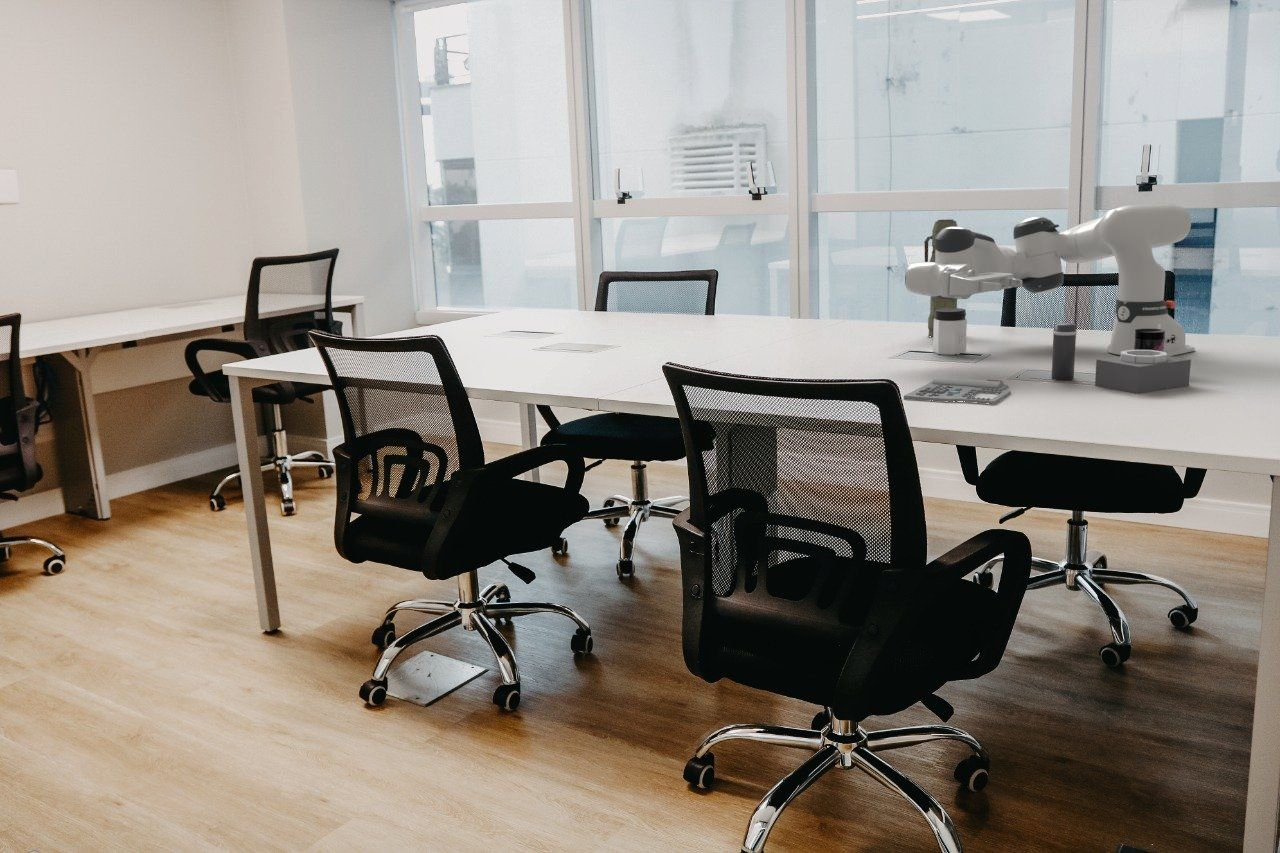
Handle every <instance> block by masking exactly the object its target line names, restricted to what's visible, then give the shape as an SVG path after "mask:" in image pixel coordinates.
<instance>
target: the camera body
mask: <svg viewBox="0 0 1280 853" xmlns="http://www.w3.org/2000/svg"><path fill="white" fill-rule="evenodd" d="M1191 362H1192V360H1191V358H1190V359H1189V358H1184V357H1176V356H1167V354H1166V352H1162V351H1155V350H1127V351H1121V355H1119V356H1113V357H1106V358H1105V357H1104V358H1099V359H1098V358H1097V359H1096V364H1095V365H1096V366H1095V379H1094V380H1095V381H1094V386H1097V385H1098V386H1097V387H1102V386H1103V387H1102V388H1107V389H1113V390H1116V391H1117V390H1118V391H1123V392H1127V393H1128V392H1129V393H1133V394H1142V393H1150V392H1156V391H1162V390H1169V389H1175V388H1181V387H1188V386H1190V377H1191V376H1190V375H1191Z"/></svg>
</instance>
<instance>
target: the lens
mask: <svg viewBox="0 0 1280 853" xmlns="http://www.w3.org/2000/svg"><path fill="white" fill-rule="evenodd" d="M1077 334H1078V332H1077V324H1076V323H1071V322H1060V323H1059V322H1058V323H1054V324H1053V330H1052V336H1053V338H1052V355H1051V356H1052V359H1051V360H1052V361H1051V378H1052V379H1051V380H1053V379H1056V380H1055V381H1059V380H1069V381H1073V380H1074V379H1075V362H1076V360H1075V359H1076V343H1077ZM1072 379H1073V380H1072Z"/></svg>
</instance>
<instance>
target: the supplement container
mask: <svg viewBox="0 0 1280 853" xmlns="http://www.w3.org/2000/svg"><path fill="white" fill-rule="evenodd" d="M1134 337H1135V338H1134V350H1155V351H1162V352H1164V343H1165V330H1161V329H1136V330H1135V336H1134Z"/></svg>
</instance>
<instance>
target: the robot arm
mask: <svg viewBox="0 0 1280 853" xmlns="http://www.w3.org/2000/svg"><path fill="white" fill-rule="evenodd" d="M1059 227H1060V225H1059V224H1055V223H1054V222H1053V221H1052V220H1051V219H1048V218H1047V217H1044V216H1042V217H1040V216H1030V217H1027V218H1025V219H1023V220H1021V221H1020V222H1018V223H1017V224H1015V226H1014V227H1013V240H1014V243H1015V250H1014V249H1012V248H1008V247H1004V246H998V245H997V243H996V241H995V239H994V238H993V237H991V236H989V235H986V234H983V233H980V232H975V231H972V230H970V229H968V228H965V227H963V226H958V227H947V228H944V229H942V230H941V231H940V232H939V233H938V234H937V235H936V237H935V249H936V251H935V262H930V261H928V262H925V261H921V262H913V263H910V264H909V265H908V266H907V267H906V271H905V276H904V285H905V288H906V289H907V291H908V292H910V293H913V294H917V295H921V296H925V297H927V296H929V297H931V296H934V297H936V298H939V299H957V300H968V299H969V298H971V296H972V295H975V294H981V293H988V292H999V291H1002V290H1006V289H1011V288H1024V289H1025V290H1026V291H1027V292H1029V293H1031V294H1039V295H1047V294H1050V293H1054V291H1056V290H1057V289H1059V288H1061V286H1062V285H1063V284H1064V279H1065V278H1064V272H1063V269H1062V268H1063V266H1062V261H1064V262H1066V263H1069V264H1084V263H1085V264H1086V263H1091V262H1095V261H1100V260H1104V259H1108V258H1110V257H1114V258H1115V261H1116V264H1117V270H1118V271H1117V272H1118V290H1117V291H1118V292H1117V293H1118V294H1117V299H1116V301H1115V306H1114V307H1115V310H1114V311H1115V313H1116V317H1115V319H1114V322H1113V327H1112V333H1111V338H1110V339H1111V340H1110V344H1108V345H1107V351H1108V353H1109V354H1112V355H1113V354H1114V355H1119V356H1121V351H1127V350H1134V338H1135V337H1134V336H1135V330H1136V329H1161V330H1165V343H1164V352H1166V354H1167V356H1171V357H1174V356H1178V355H1181V354H1187V353H1191V352H1195V351H1196V348H1195V346H1193V345H1189V344H1186V331H1185V328H1184V327H1183V326H1182V325H1181V324H1180V323H1178V322H1177V320H1175V319H1174V318H1173V317H1172V316H1171V315H1169V310H1168V309H1172V310H1173V309H1175V307H1176V301H1174V300H1165V299H1164V298H1165V284H1166V270H1165V269H1164V267H1163V266H1162V265H1161V264H1159V263H1158V262H1157V261H1156V259H1155V257H1154V255H1153V249H1156V248H1160V247H1165V246H1169V245H1173V244H1175V243H1178V242H1181V241H1183V240H1184V239H1186V238H1187V236H1188V235H1189V233H1190V231H1191V227H1192V218H1191V215H1190V213H1189V211H1188V210H1187V209H1186V208H1185V207H1183V206H1180V205H1177V204H1171V203H1154V204H1153V203H1151V204H1150V203H1149V204H1147V203H1146V204H1130V205H1129V204H1128V205H1123V206H1119V207H1116V208H1113V209H1111V210H1108V211H1106V212H1105V213H1104V214H1103V216H1102V217H1101V216H1100V217H1099V218H1095V219H1091V220H1088V221H1085V222H1083V223H1079V224H1077V225H1075V226H1073V227H1071V228H1069V229H1066V230H1063V231H1061V230H1060V231H1059V230H1057V228H1059Z"/></svg>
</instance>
